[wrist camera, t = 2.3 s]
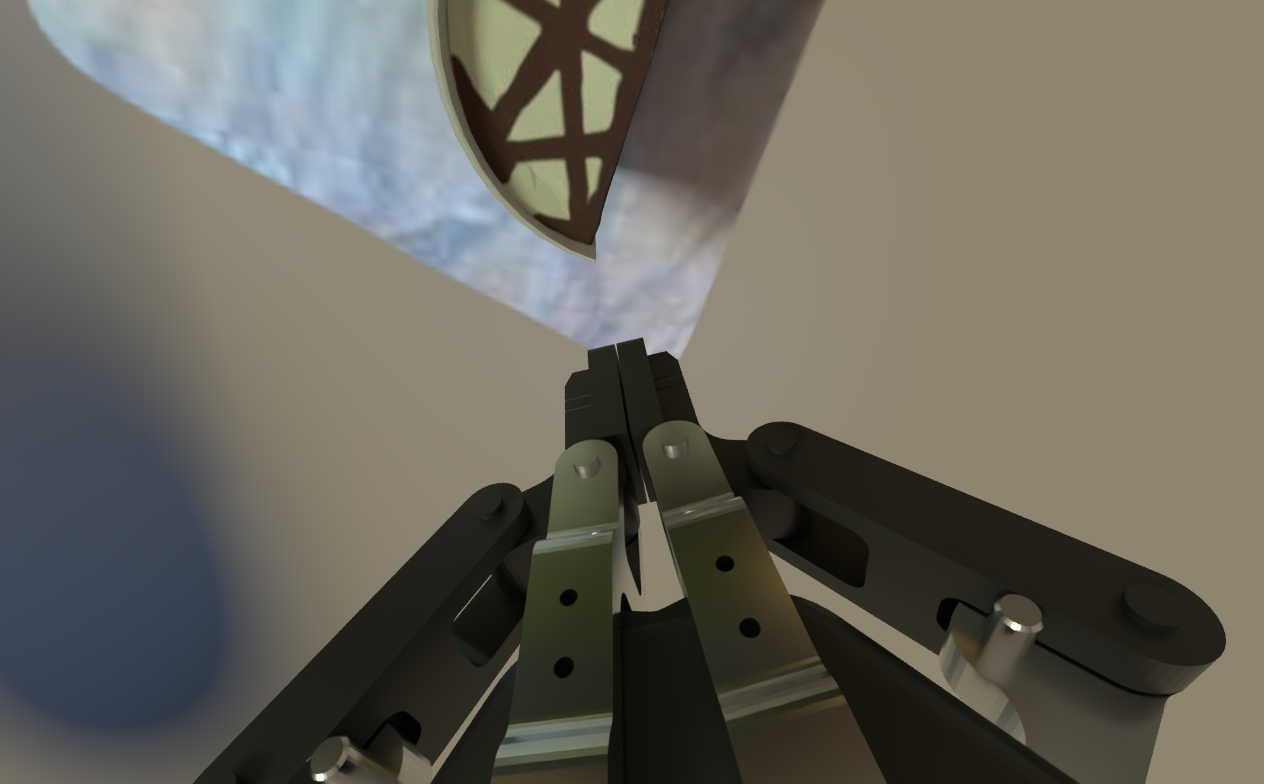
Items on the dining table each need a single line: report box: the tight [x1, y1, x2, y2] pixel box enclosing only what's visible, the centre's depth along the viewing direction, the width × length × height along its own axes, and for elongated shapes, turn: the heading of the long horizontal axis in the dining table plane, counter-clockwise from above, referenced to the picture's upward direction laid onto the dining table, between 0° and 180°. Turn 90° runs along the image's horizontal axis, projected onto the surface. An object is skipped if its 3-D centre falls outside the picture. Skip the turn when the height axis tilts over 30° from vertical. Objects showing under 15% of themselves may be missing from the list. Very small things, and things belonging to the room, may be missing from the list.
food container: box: [426, 0, 669, 262], centre depth 16 cm, size 12×6×10 cm, turn 161°
